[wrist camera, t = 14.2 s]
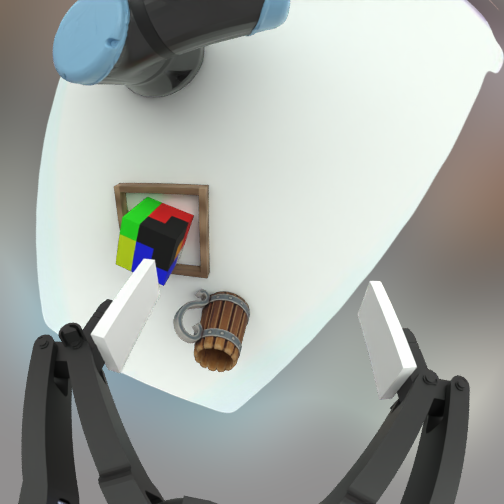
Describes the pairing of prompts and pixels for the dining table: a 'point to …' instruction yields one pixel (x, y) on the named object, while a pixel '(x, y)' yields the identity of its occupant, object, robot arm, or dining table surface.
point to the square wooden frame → (174, 189)
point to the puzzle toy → (153, 237)
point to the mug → (216, 329)
